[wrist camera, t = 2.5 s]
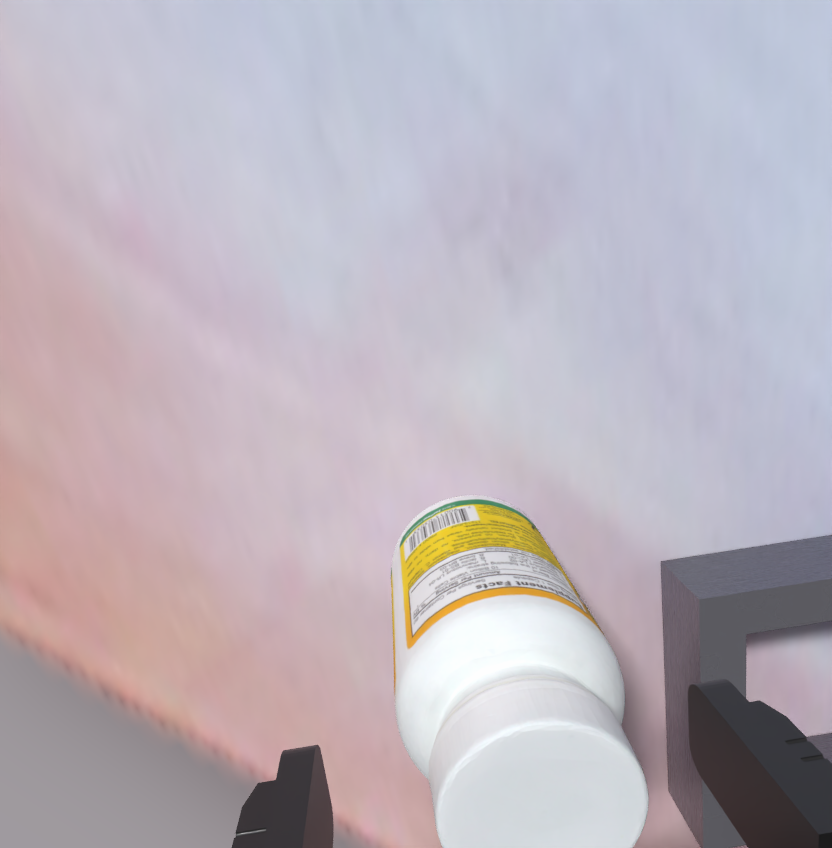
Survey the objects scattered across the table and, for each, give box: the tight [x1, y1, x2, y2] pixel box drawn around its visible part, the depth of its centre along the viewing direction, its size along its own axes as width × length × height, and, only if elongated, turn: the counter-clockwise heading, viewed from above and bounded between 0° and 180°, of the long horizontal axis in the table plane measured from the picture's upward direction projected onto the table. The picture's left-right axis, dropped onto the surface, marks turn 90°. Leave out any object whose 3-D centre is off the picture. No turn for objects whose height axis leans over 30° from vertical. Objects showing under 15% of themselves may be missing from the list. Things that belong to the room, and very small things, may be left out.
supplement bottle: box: [391, 495, 648, 848], centre depth 15 cm, size 5×5×10 cm
